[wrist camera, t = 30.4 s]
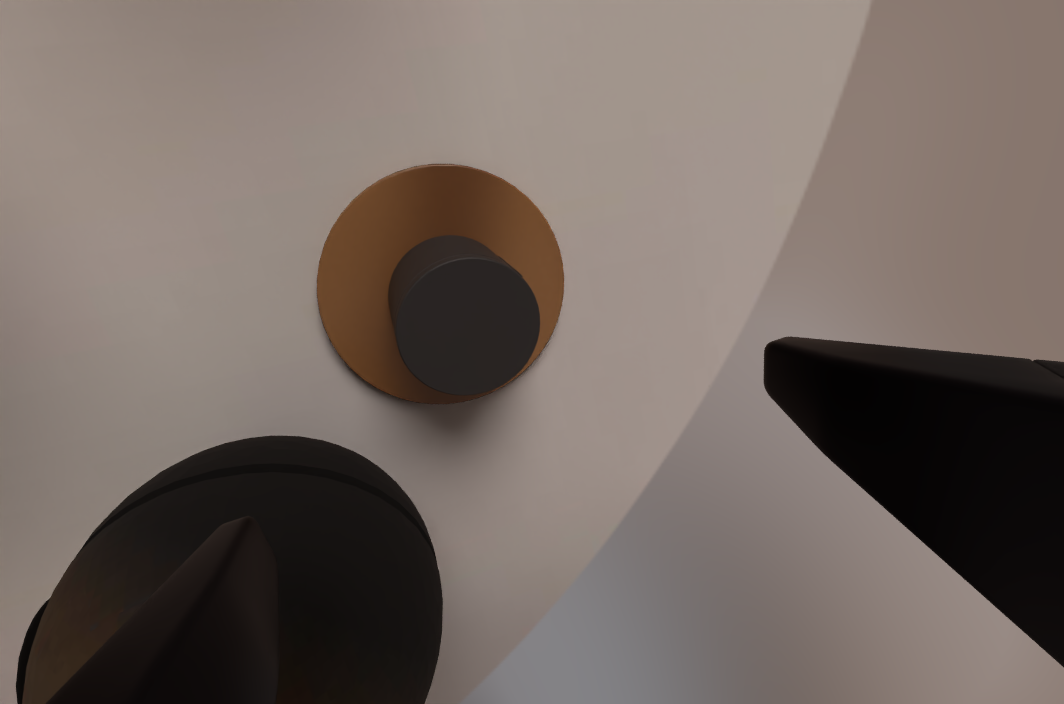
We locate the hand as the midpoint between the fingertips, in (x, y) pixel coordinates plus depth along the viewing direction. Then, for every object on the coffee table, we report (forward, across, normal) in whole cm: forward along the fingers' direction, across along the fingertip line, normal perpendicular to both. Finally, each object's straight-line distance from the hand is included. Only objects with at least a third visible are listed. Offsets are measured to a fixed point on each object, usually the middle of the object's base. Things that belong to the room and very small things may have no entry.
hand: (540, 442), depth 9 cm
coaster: (+10, 0, 0) cm, 10 cm away
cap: (+9, 0, 0) cm, 9 cm away
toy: (+10, +8, +6) cm, 14 cm away
